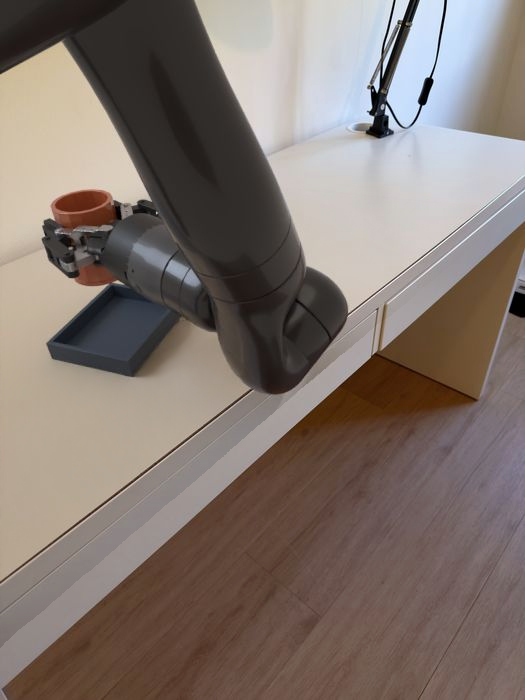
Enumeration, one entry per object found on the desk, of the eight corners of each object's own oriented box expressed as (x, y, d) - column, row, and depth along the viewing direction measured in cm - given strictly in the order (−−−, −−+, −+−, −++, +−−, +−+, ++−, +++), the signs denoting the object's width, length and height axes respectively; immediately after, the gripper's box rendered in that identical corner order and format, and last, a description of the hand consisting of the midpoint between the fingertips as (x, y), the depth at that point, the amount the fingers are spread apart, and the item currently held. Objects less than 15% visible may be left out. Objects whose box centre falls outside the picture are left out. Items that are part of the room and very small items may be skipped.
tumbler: (109, 290, 60) (89, 216, 55) (61, 281, 62) (37, 210, 57) (138, 262, 65) (123, 192, 59) (93, 255, 67) (74, 187, 61)
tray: (132, 377, 65) (128, 361, 64) (51, 358, 69) (45, 343, 67) (186, 309, 76) (184, 294, 75) (114, 296, 80) (110, 282, 78)
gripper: (214, 202, 53) (122, 166, 62) (87, 256, 45) (5, 206, 55) (221, 268, 58) (135, 225, 67) (108, 326, 50) (29, 269, 59)
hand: (77, 216), depth 61 cm, fingers closed on tumbler, 6 cm apart
